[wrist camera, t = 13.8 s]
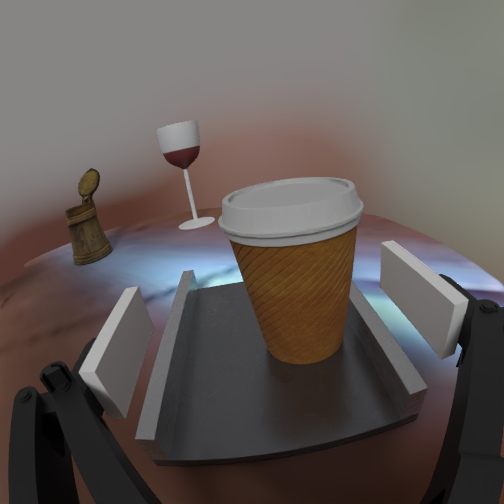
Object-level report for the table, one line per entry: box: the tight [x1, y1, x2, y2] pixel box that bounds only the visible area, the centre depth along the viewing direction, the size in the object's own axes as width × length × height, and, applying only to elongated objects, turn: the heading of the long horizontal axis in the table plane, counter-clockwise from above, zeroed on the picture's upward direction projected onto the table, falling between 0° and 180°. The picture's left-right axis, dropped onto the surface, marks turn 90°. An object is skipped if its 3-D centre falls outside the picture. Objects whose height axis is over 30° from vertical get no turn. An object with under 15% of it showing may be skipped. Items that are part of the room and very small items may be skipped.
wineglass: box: [156, 120, 215, 230], centre depth 61 cm, size 9×10×22 cm
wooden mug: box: [66, 168, 112, 265], centre depth 56 cm, size 9×14×18 cm, turn 179°
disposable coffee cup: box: [218, 177, 364, 364], centre depth 21 cm, size 10×10×12 cm
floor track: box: [135, 270, 428, 466], centre depth 24 cm, size 22×16×3 cm
